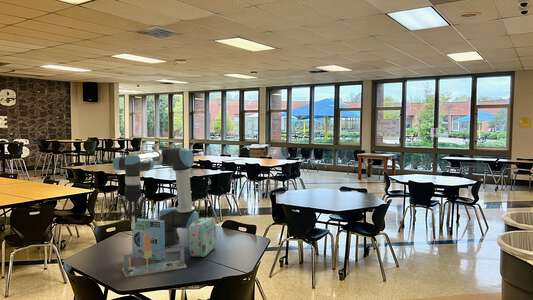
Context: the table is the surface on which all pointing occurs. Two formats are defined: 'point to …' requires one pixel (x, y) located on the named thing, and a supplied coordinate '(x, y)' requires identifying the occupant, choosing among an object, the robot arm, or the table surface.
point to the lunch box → (202, 237)
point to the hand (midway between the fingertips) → (133, 228)
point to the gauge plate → (154, 268)
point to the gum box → (156, 237)
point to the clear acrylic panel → (126, 256)
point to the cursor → (147, 248)
